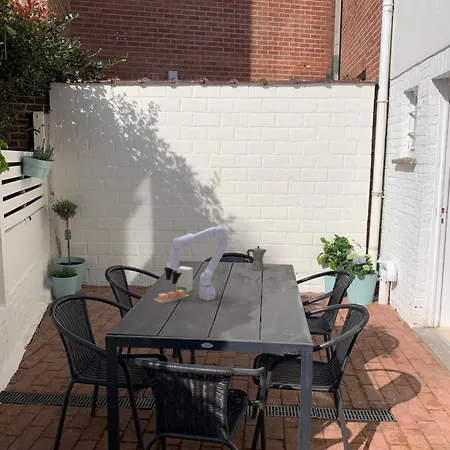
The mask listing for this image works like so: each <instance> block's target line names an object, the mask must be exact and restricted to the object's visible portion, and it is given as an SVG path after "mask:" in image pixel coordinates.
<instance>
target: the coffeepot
mask: <svg viewBox="0 0 450 450" xmlns="http://www.w3.org/2000/svg"><path fill="white" fill-rule="evenodd" d="M251 252H252V258H251V254H250V253H251ZM266 252H267V249H265V248H260V245H257V247H256V248H249V249H247V250H246V254H247V257H248V260H249V261H252V266H251V270H252V271H254V272H259V271H260V272H261V271H264V270H265V266H264V261H263V259H264V255H265V253H266Z"/></svg>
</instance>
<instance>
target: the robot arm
mask: <svg viewBox="0 0 450 450" xmlns="http://www.w3.org/2000/svg"><path fill="white" fill-rule="evenodd" d="M207 236H210V237H215V238H216V239H217V241H218V246H217V248H216V249H215V251H214V253H213V255H212V257H211V259H210V261H209V263H208V265H206V266H207V267H206V268H205V269H204V271H203V272H202V273H201V274H200V276H199V277H200V278H199V285H198V286H199V293H198V298H199V299H200V300H203V301H204V300H205V301H212V300H216V288H215V287H214V286H213V284H212V277H213V275H214V273H215V270H216V268H217V267H218V264H219V262H221V258H222V257H223V255H224V253H225V251H226V250H227V247H228V245H229V242H228V233H227V231H226V228H225V227H224V226H222V225H220V224H218V225H216V226H212V227H211V226H210V227H209V228H207V229H204V230H201V231H199V232H195V233H194V234H193V233H189V232H187V233H186V234H185V235H183V236H178V237H175V238H173V240H172V242H171V250H170V255H169V262H167V263H166V265H165V267H163V269H164V271H165V278H166V280H167V281H171V279H172V285H176V283H177V281H178V279H179V277H180V275H181V274H182V273H181V269H180V268H179V267H180V261H181V253H182V252H181V250H182V248H183V247H186V246H189V245H191V244H194V243H195V242H196V240H199V239H201V238H205V237H207Z"/></svg>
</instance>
